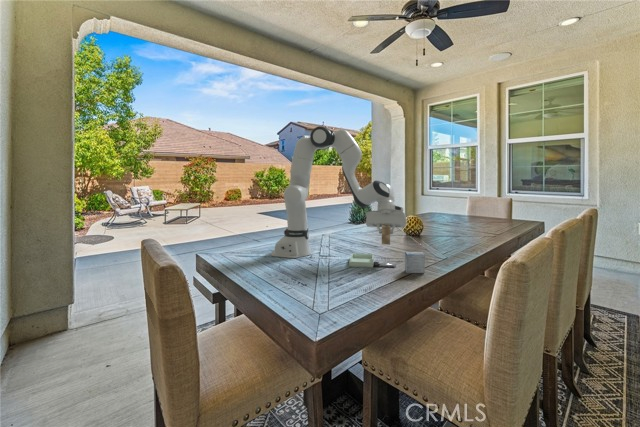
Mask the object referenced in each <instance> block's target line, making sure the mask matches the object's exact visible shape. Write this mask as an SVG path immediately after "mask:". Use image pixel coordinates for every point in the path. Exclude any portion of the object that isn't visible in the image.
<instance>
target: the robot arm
mask: <svg viewBox="0 0 640 427" xmlns="http://www.w3.org/2000/svg"><path fill="white" fill-rule="evenodd" d="M330 148H334V150H335V151H336V152H337V154H338V156H339V157H340V159H341V163H342V167H341V172H342V173H343V176H344V179H345V181H346V183H347V185H348V187H349V190H350V191H351V194H352V197H353V202H354V203H355V205H357V206H358V207H359V208H364V209H365V208H367V207H369V206H370V205H372V204H374V203H375V202H377V210H368V211H366V212H365V217H366V218H365V225H366V226H367V227H369V228H370V227H371V228H373V227H374V228H376V229H377V230H378V234H381V235H382V225H390V235H393V234H394V231H395V229H396V228H403V229H404V228H406V227H407V225H408V224H407V215H406V213H405V212H404V207H403V206H400V205H399V206H398V205H396V204H394V203H395V192H394V189H393V186H391V184H387V183H384V182H383V181H380V180H373V181H372V182H370V183H368V184H367V185H366V186H364V187H361V186H360V184H359V181H358V179H357V177H356V174H355V173H356V169H357V167H358V166H359V164H360V162H361V161H362V156H363V152H362V149H361V148H360V146H359V144H358V142H357V141H356V140H355V138H354V137H353V136H352V135H351V133H350V132H349V131H348V130H347V129H343V128H342V129H338V130H337V131H334V130H331V129H330V128H327V127H325V126H321V125H320V126H316V127H314V128H313V129H312V130H311V132H310V136H309V137H301V138H299V139H298V140H297V141H296V144H295V147H294V149H293V154H292V159H291V160H292V161H291V166H290V170H289V171H290V173H289V174H290V176H289V178H290V180H289V185H288V186H287V187H286V188H285V189H284V191H283V200H284V205H285V206H284V207H285V210H286V218H287V219H286V220H287V228H286V229H285V230H284V231H283V234H284V236H283V237H281V238H280V239H279V240H278V241H277V242H276V243H275V246H274V249H273V250H271V252H270V257H277V258H278V257H280V258H289V259H296V258H302V257H307V256H309V255H311V254H312V251H311V247H310V244H309V243H310V242H309V241H310V240H309V236H310V233H309V232H310V231H309V227H308V212H307V206H306V201H307V198H309V191H310V182H311V181H310V180H311V173H312V169H313V168H312V167H313V163H314V157H315V153H316V152H317V151H323V150H328V149H330Z"/></svg>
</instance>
